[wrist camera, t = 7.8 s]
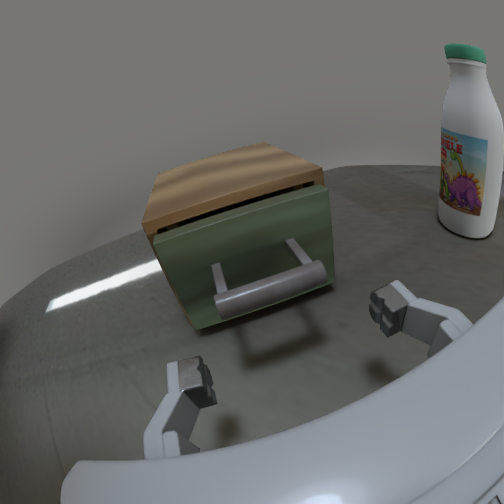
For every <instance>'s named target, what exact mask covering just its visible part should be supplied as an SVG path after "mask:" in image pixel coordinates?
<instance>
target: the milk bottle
mask: <svg viewBox="0 0 504 504" xmlns="http://www.w3.org/2000/svg"><path fill="white" fill-rule="evenodd" d="M445 53H446V57H447V61H448V62H447V63H448V64H449V65H450V70H451V75H450V83H449V87H448V90H447V94H446V96H445V99H444V103H443V107H442V114H441V175H440V192H439V205H438V216H439V219H440V221H441V223H442V224H443V225H444V226H445V227H446V228H448V229H449V230H451V231H453V232H455V233H457V234H459V235H462V236H466V237H471V238H483V237H486V236H487V235H489V234H490V233H491V231H492V230H493V227H494V223H495V219H496V214H497V209H498V203H499V197H500V190H501V182H502V172H503V158H504V132H503V124H502V119H501V115H500V112H499V109H498V107H497V104H496V102H495V100H494V98H493V95H492V92H491V90H490V87H489V84H488V81H487V77H486V70H487V68H486V58H485V54H484V51H483V50H482V49H480V48H477V47H474V46H470V45H464V44H447V45H445Z"/></svg>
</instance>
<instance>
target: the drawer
mask: <svg viewBox="0 0 504 504" xmlns="http://www.w3.org/2000/svg"><path fill="white" fill-rule="evenodd" d="M166 228H167V230H168V231H167V232H164V233H161V234H158V235H155V236H154V240H153V246H154V248H155V251H156V253H157V255H158V257H159V259H160V261H161V263H162V266H163V268H164V270H165V272H166V274H167V276H168V278H169V280H170V282H171V284H172V286H173V288H174V290H175V292H176V294H177V296H178V298H179V300H180V302H181V304H182V306H183V308H184V309H185V311H186V313H187V315H188V317H189V319H190V321H191V323H192V324H193V326H194V328H195V330H199V329H202V328H205V327H208V326H212V325H215V324H218V323H221V322H224V321H227V320H230V319H233V318H237V317H240V316H243V315H246V314H249V313H251V312H254V311H257V310H260V309H263V308H266V307H269V306H272V305H274V304H277V303H280V302H283V301H286V300H288V299H291V298H294V297H297V296H299V295H302V294H305V293H307V292H310V291H313V290H315V289H318V288H320V287H323V286H325V285H328V284H331V283H333V282H335V272H334V253H333V238H332V225H331V213H330V203H329V193H328V189H327V188H326V187H324V186H322V185H321V184H318V185H314V186H311V187H307V188H303V184H299V185H296V186H292V187H289V188H285V189H282V190H278V191H275V192H271V193H268V194H264V195H261V196H258V197H254V198H251V199H248V200H244V201H241V202H238V203H235V204H231V205H228V206H225V207H222V208H219V209H216V210H213V211H210V212H207V213H203V214H200V215H197V216H194V217H191V218H189V219H186V220H183V221H180V222H177V223H174V224H171V225H168V226H166Z"/></svg>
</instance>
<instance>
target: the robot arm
mask: <svg viewBox="0 0 504 504" xmlns="http://www.w3.org/2000/svg"><path fill="white" fill-rule="evenodd" d="M370 299H371V300H372V302H371V303H370V305H369V312H370V315H371V317H372V319H373V320H374V322H375V323H378V324H380V329H381V330H382V332H383V333H384V334H385V335H386V337H387V338H388V337H390V336H392V335H394V334H396V333H398V332H399V331H401V332H403V333H405V334H407V335H410V336H412V337H414V338H416V339H418V340H420V341H422V342H424V343H427V344H429V345H431V347H430V349H429V351H428V354H427V356H428V357H429V359H428V360H426V361H425V362H423V363H422V364H420V365H419V366H417V367H415V368H414V369H412V370H411V371H409V372H408V373H406V374H404V375H403V376H401V377H399V378H398V379H396V380H394V381H393V382H391V383H389V384H387V385H386V386H384V387H382V388H380V389H378V390H376V391H375V392H373V393H371V394H369V395H367V396H365V397H363V398H361V399H359V400H357V401H355V402H353V403H351V404H349V405H347V406H344V407H342V408H340V409H338V410H336V411H333V412H331V413H329V414H326V415H324V416H322V417H319V418H317V419H314V420H312V421H309V422H307V423H304V424H301V425H299V426H296V427H293V428H290V429H287V430H284V431H282V432H278V433H275V434H272V435H269V436H266V437H262V438H259V439H256V440H252V441H248V442H245V443H241V444H237V445H233V446H228V447H224V448H219V449H215V450H210V451H204V452H200V448H198V447H197V446H195V445H194V444H192V443H191V442H189V438H190V435H191V433H192V430H193V428H194V425H195V422H196V420H197V417H198V414H199V412H200V409H201V408H205V407H209V406H213V405H216V404H217V400H216V395H215V391H214V390H213V389H212V385H213V380H212V376H211V373H210V371H209V369H208V367H207V365H204V363H203V359H202V358H201V356H195V357H191V358H187V359H183V360H179V361H175V362H171V363H168V364H167V384H168V394H166V395H165V396H164V398H163V400H162V401H161V403H160V405H159V407H158V408H157V410H156V412H155V414H154V416H153V417H152V419H151V421H150V423H149V424H148V426H147V428H146V430H145V431H144V433H143V443H144V458H145V459H142V460H121V461H96V460H80V461H78V462H77V463H76V464H75V465H74V466H73V467H72V469H71V470H70V472H69V473H68V474H67V476H66V477H65V479H64V481H63V483H62V488H61V504H504V297H503V298H502V299H501V300H500V301H499V302H498V303H497V304H496V305H495V306H494V307H493V308H491V309H490V310H489V311H488V312H487V313H486V314H485V315H484V316H483V317H482V318H480V319H479V320H478V321H477V322H476V323H475V324H474V325H473V324H472V323H471V322H470V320H469V319H468V318H467V317H466V316H465V315H464V314H463V313H462V312H461V311H460V310H459V309H455V308H452V307H449V306H445V305H442V304H439V303H435V302H432V301H429V300H425V299H422V298H419V299H417V298H416V297H415V296H414V295H413V294H412V293H411V292H410V291H409V290H408V289H407V288H406V287H405V286H404V285H403V284H402V283H401V282H400V281H398V280H396V281H394V282H392V283H390V284H387V285H385V286H383V287H381V288H379V289H377V290H375V291H373V292H372V293H371V294H370Z"/></svg>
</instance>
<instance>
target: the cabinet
mask: <svg viewBox="0 0 504 504" xmlns="http://www.w3.org/2000/svg"><path fill="white" fill-rule="evenodd" d="M323 178H324V177H323V170H322V167H319V166H317V165H315V164H313V163H311V162H309V161H306V160H304V159H302V158H300V157H298V156H295V155H293V154H291V153H289V152H286V151H284V150H282V149H279V148H277V147H274V146H272V145H269V144H267V143H265V142H260V143H256V144H252V145H248V146H244V147H241V148H237V149H233V150H229V151H226V152H222V153H219V154H216V155H212V156H209V157H206V158H203V159H199V160H196V161H193V162H190V163H187V164H184V165H181V166H178V167H175V168H172V169H169V170H167V171H164V172H161V173H158V175H157V178H156V181H155V184H154V187H153V189H152V192H151V195H150V198H149V201H148V204H147V207H146V210H145V213H144V217H143V220H142V223H141V224H142V226H143V229H144V231H145V233H146V235H147V238H148V240H149V242H150V244H151V246H152V249H153V251H154V253H155V255H156V257H157V259H158V262H159V264H160V266H161V268H162V270H163V272H164V274H165V276H166V278H167V280H168V282H169V284H170V286H171V288H172V290H173V292H174V294H175V296H176V298H177V300H178V302H179V304H180V305H181V307H182V309H183V311H184V313H185V315H186V317H187V318H188V320H189V322H190V324H191V325H193V324H192V323H191V321H190V319H189V317H188V315H187V313H186V311H185V309H184V308H183V306H182V304H181V302H180V300H179V298H178V296H177V294H176V292H175V290H174V288H173V286H172V284H171V282H170V280H169V278H168V276H167V274H166V272H165V270H164V268H163V266H162V263H161V261H160V259H159V257H158V255H157V253H156V251H155V248H154V246H153V240H154V236H155V235H158V234H161V233H164V232H167V231H168V230H167V228H166V226H168V225H171V224H174V223H177V222H180V221H183V220H186V219H189V218H191V217H194V216H197V215H200V214H203V213H207V212H210V211H213V210H216V209H219V208H222V207H225V206H228V205H231V204H235V203H238V202H241V201H244V200H248V199H251V198H254V197H258V196H261V195H264V194H268V193H271V192H275V191H278V190H282V189H285V188H289V187H292V186H296V185H299V184H303V188H307V187H311V186H314V185H318V184H321V185H322V186H324V187H325V185H324V179H323Z"/></svg>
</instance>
